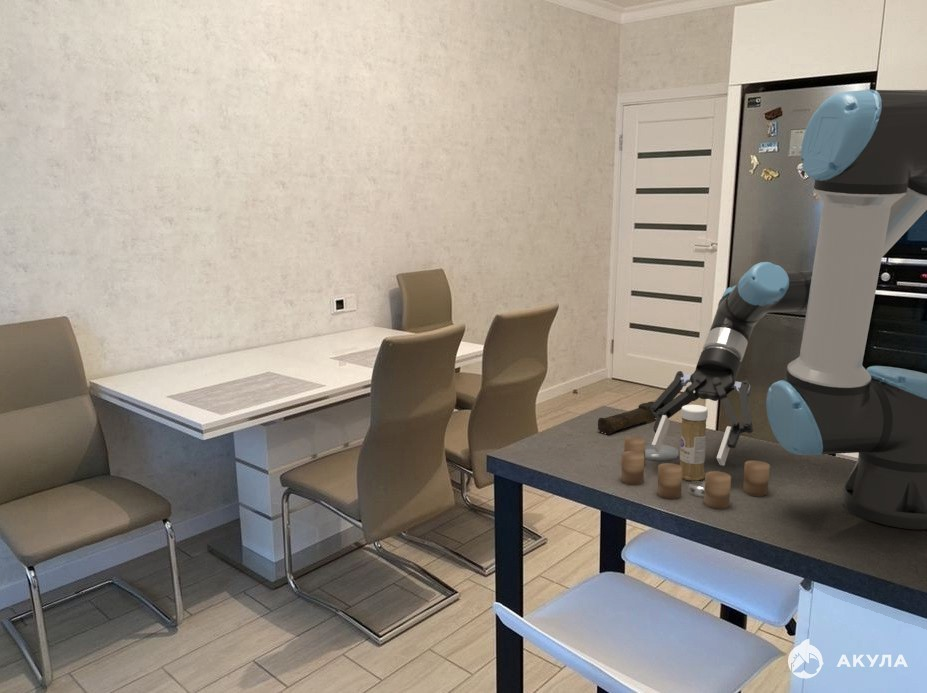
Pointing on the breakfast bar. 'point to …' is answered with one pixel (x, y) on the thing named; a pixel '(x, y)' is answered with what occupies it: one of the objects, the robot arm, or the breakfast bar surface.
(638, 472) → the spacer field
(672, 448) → the coaster
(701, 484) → the silver rounded piece
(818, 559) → the breakfast bar surface
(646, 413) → the dark brown elongated piece
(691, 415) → the sprinkles bottle
